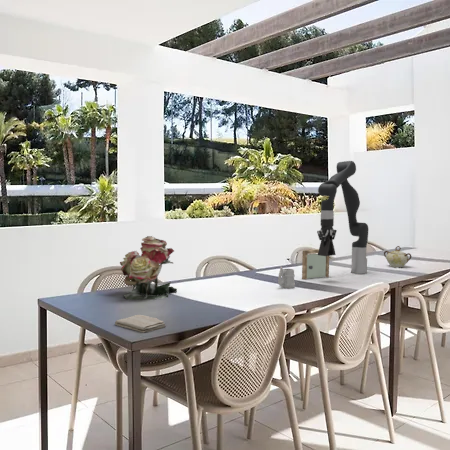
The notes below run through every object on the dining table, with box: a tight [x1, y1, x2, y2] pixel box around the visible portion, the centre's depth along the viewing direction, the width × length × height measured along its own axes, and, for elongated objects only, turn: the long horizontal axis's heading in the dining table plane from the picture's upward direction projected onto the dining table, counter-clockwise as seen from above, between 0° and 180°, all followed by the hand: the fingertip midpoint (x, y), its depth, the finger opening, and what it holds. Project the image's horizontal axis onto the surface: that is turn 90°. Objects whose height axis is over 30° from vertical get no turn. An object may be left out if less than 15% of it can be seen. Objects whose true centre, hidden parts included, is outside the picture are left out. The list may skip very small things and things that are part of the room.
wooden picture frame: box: [301, 248, 330, 280], centre depth 306 cm, size 20×2×18 cm, turn 121°
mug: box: [277, 266, 296, 289], centre depth 274 cm, size 8×12×12 cm, turn 133°
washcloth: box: [114, 314, 167, 334], centre depth 193 cm, size 12×18×3 cm, turn 52°
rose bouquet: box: [119, 235, 178, 301], centre depth 249 cm, size 26×29×30 cm
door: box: [306, 253, 327, 280], centre depth 305 cm, size 15×3×15 cm, turn 121°
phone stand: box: [317, 235, 336, 257], centre depth 293 cm, size 9×6×12 cm, turn 128°
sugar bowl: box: [383, 245, 412, 268], centre depth 356 cm, size 20×15×15 cm
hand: (326, 247), depth 293 cm, fingers closed on phone stand, 3 cm apart
